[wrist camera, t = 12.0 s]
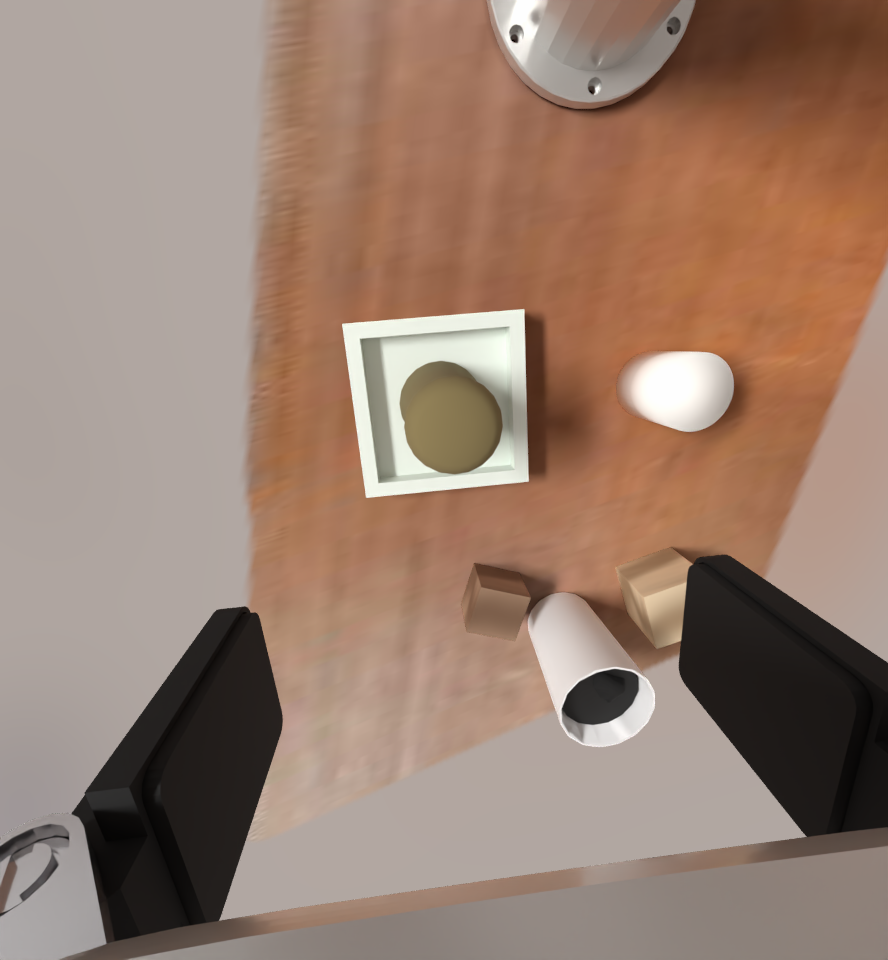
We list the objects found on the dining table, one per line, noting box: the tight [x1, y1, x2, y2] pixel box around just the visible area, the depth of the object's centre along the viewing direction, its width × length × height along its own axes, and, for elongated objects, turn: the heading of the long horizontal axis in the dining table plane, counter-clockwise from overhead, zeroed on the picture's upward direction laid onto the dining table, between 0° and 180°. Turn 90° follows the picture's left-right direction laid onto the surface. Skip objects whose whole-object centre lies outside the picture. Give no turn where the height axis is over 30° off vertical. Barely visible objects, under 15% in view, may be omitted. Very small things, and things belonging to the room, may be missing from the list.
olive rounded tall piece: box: [399, 361, 503, 475], centre depth 27 cm, size 6×6×11 cm
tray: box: [342, 309, 529, 498], centre depth 32 cm, size 12×12×2 cm
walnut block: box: [461, 563, 531, 641], centre depth 36 cm, size 4×4×4 cm
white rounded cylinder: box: [616, 351, 734, 432], centre depth 31 cm, size 5×5×6 cm
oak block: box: [615, 547, 693, 649], centre depth 37 cm, size 5×5×5 cm
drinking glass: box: [528, 592, 655, 747], centre depth 35 cm, size 7×7×10 cm
